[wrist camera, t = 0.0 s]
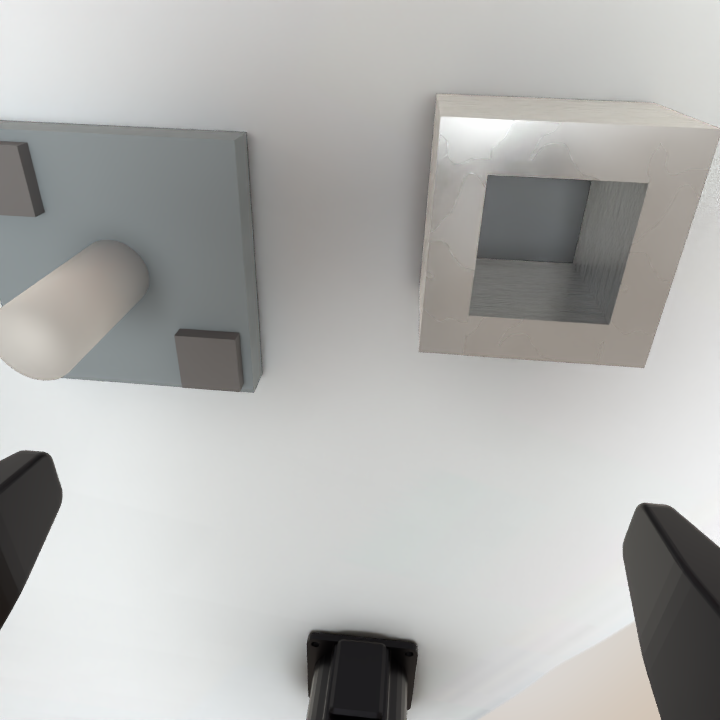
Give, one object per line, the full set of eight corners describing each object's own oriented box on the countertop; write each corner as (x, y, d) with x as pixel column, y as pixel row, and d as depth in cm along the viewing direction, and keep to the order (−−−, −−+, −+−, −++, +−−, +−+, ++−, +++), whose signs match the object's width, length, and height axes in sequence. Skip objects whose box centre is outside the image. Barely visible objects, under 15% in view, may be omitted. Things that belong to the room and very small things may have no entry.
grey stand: (262, 373, 26) (213, 483, 20) (43, 357, 26) (-69, 459, 20) (246, 132, 20) (173, 181, 14) (-26, 119, 21) (-204, 161, 15)
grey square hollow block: (601, 300, 22) (644, 368, 18) (419, 288, 23) (418, 351, 19) (654, 102, 19) (722, 129, 15) (436, 93, 19) (440, 116, 15)
